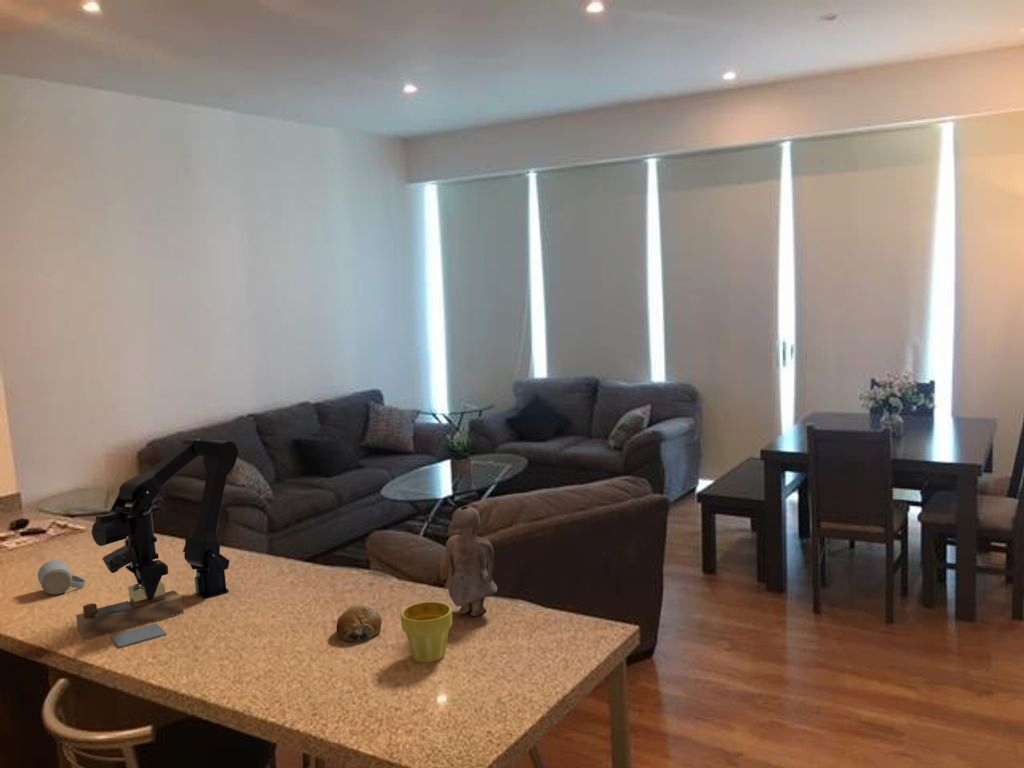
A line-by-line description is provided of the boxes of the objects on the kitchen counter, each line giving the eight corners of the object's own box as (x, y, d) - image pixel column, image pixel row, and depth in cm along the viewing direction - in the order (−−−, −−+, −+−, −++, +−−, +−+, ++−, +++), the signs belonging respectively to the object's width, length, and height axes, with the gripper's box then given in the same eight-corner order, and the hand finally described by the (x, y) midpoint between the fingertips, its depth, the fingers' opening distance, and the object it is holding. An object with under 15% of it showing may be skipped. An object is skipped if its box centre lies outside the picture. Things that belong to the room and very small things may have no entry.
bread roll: (387, 644, 192) (392, 608, 194) (365, 643, 182) (371, 604, 185) (348, 640, 195) (353, 604, 197) (325, 639, 186) (330, 601, 188)
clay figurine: (507, 608, 199) (502, 504, 196) (485, 624, 191) (479, 515, 188) (460, 601, 206) (454, 499, 203) (437, 616, 197) (430, 510, 194)
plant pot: (434, 671, 169) (431, 623, 168) (393, 661, 175) (390, 615, 174) (464, 650, 178) (461, 605, 177) (424, 641, 183) (421, 597, 182)
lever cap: (159, 589, 208) (158, 576, 208) (165, 594, 205) (163, 581, 204) (129, 596, 204) (127, 584, 204) (134, 601, 200) (132, 589, 200)
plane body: (175, 605, 212) (173, 580, 211) (183, 613, 207) (180, 587, 206) (78, 631, 199) (74, 604, 198) (83, 639, 193) (80, 612, 193)
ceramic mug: (43, 599, 221) (40, 570, 220) (39, 590, 228) (36, 562, 227) (88, 589, 227) (85, 561, 226) (82, 581, 234) (80, 554, 233)
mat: (156, 624, 200) (156, 623, 200) (166, 634, 194) (166, 633, 194) (110, 637, 194) (110, 635, 194) (119, 648, 188) (119, 646, 188)
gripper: (94, 533, 205) (101, 595, 207) (113, 550, 190) (121, 617, 192) (143, 523, 212) (150, 584, 214) (165, 539, 197) (172, 604, 199)
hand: (147, 597), depth 204 cm, fingers closed on lever cap, 5 cm apart
